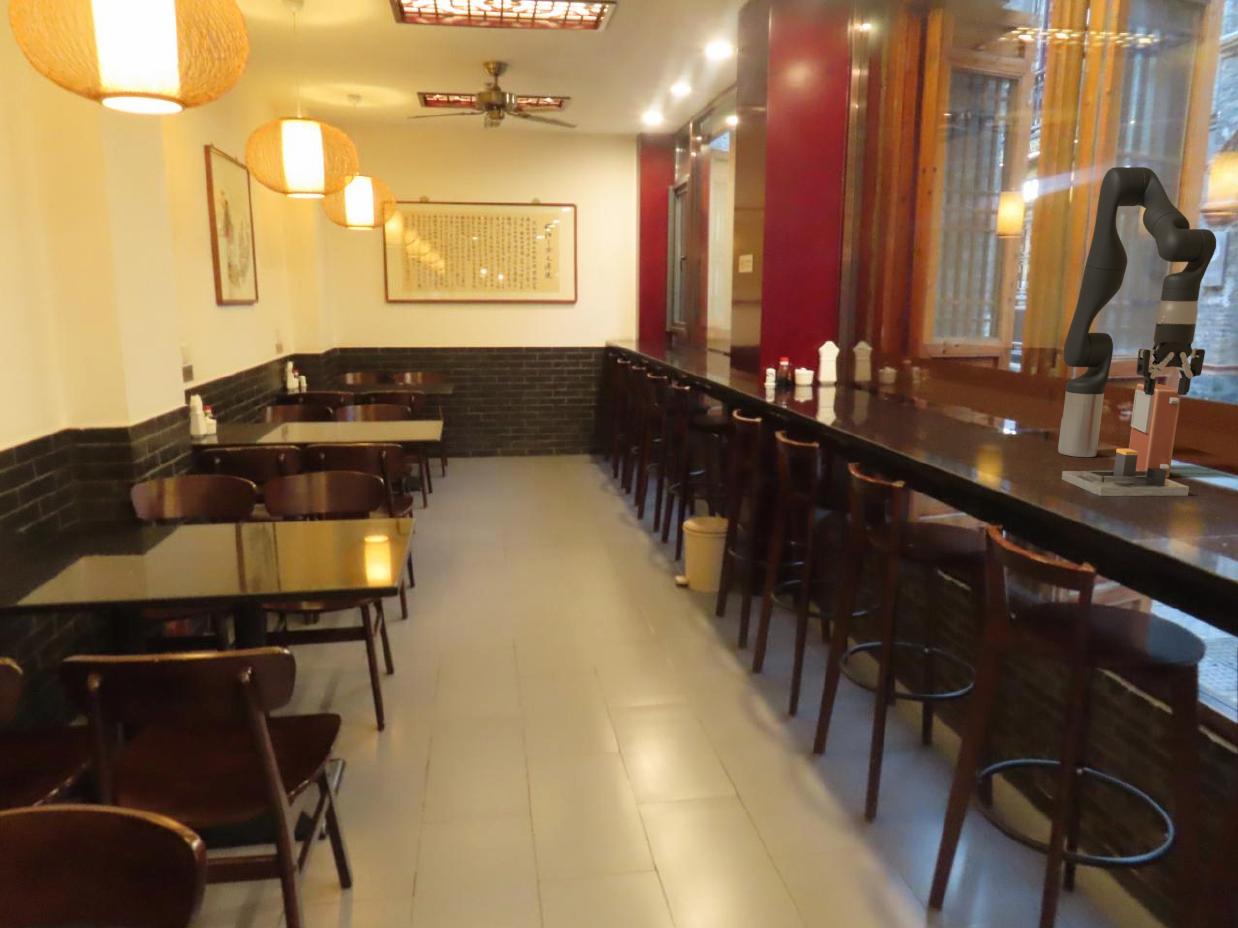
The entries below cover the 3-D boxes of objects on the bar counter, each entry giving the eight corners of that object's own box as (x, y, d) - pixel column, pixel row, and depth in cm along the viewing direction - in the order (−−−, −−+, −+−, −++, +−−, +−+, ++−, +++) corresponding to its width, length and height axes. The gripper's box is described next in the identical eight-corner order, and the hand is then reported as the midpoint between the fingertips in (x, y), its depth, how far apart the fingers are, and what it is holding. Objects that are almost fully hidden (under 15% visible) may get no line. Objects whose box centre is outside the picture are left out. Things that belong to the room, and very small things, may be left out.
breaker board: (1061, 479, 205) (1064, 456, 204) (1143, 478, 205) (1146, 455, 204) (1099, 495, 189) (1103, 471, 188) (1187, 495, 190) (1191, 470, 188)
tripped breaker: (1113, 474, 198) (1116, 448, 197) (1125, 474, 198) (1128, 448, 197) (1122, 478, 195) (1126, 451, 194) (1134, 478, 195) (1138, 451, 194)
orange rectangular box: (1150, 465, 220) (1174, 478, 205) (1120, 464, 221) (1143, 477, 207) (1161, 383, 215) (1187, 391, 201) (1131, 382, 216) (1155, 390, 202)
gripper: (1196, 320, 193) (1185, 392, 197) (1134, 320, 193) (1124, 392, 196) (1219, 322, 186) (1207, 397, 189) (1155, 322, 185) (1144, 397, 189)
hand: (1165, 394), depth 193 cm, fingers open, 7 cm apart
